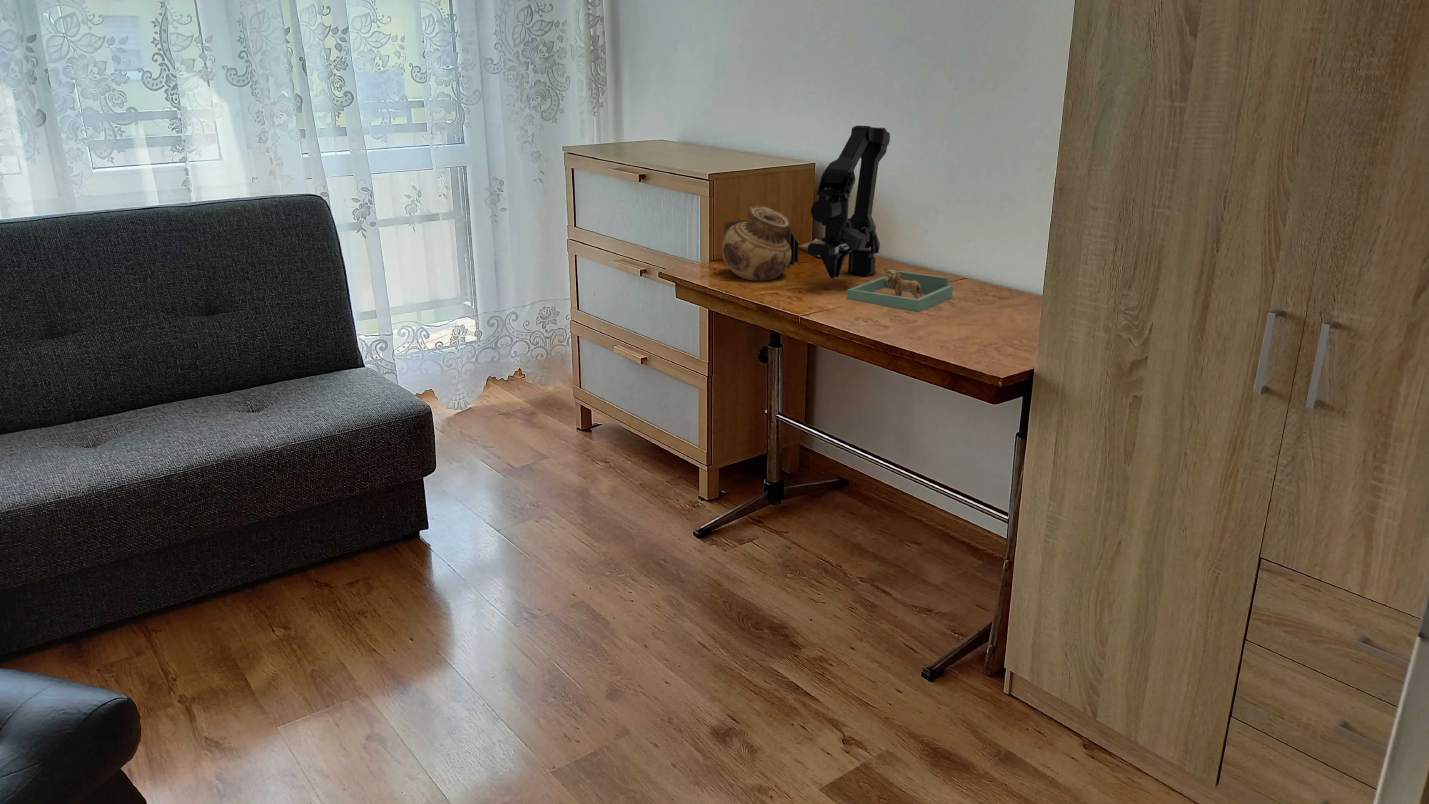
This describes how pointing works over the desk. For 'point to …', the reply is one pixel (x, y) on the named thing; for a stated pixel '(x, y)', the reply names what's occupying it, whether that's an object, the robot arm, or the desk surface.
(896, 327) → the desk surface
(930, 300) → the cold frame
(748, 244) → the clay pot
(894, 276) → the lion figurine
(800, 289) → the desk surface
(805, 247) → the sunglasses case
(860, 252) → the robot arm
